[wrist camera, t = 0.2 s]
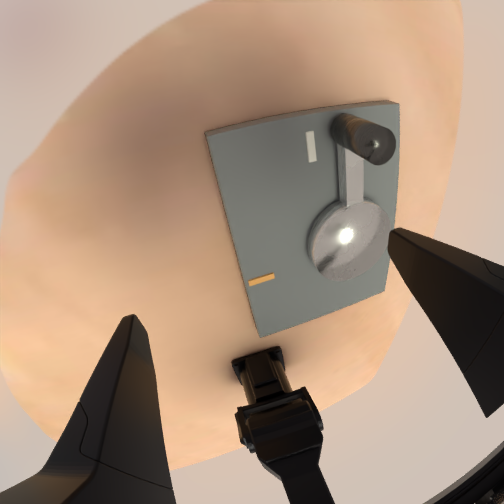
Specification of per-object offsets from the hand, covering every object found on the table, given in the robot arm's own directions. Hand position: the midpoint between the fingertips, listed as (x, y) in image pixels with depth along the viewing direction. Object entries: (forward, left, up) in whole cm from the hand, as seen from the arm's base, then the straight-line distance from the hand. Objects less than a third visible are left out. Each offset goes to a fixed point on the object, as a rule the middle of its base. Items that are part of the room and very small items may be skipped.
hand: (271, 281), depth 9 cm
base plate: (-9, -8, -14) cm, 19 cm away
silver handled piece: (-6, -10, -13) cm, 17 cm away
